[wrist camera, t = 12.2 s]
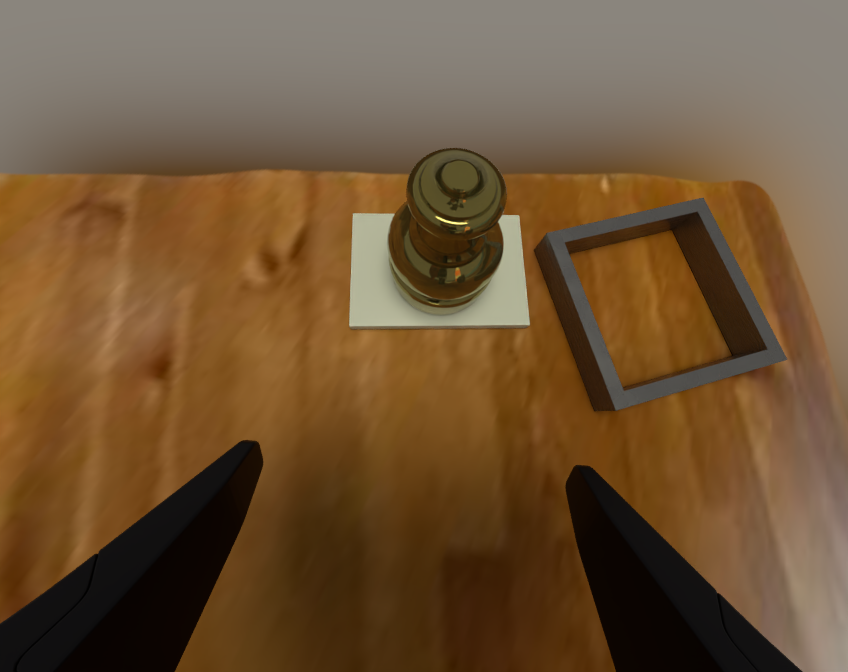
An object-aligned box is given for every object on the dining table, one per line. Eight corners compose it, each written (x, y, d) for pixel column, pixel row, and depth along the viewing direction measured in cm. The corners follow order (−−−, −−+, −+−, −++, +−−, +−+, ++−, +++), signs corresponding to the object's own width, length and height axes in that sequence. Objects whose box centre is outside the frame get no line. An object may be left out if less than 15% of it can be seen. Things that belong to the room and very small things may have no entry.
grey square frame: (750, 365, 25) (787, 359, 23) (594, 411, 24) (615, 410, 21) (677, 216, 28) (703, 197, 25) (534, 249, 26) (547, 233, 24)
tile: (515, 221, 27) (518, 215, 26) (526, 327, 25) (529, 325, 24) (354, 219, 26) (352, 213, 26) (351, 329, 24) (349, 326, 23)
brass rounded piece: (394, 321, 24) (386, 255, 14) (385, 228, 25) (373, 111, 16) (495, 312, 24) (555, 242, 14) (480, 221, 26) (524, 104, 16)
